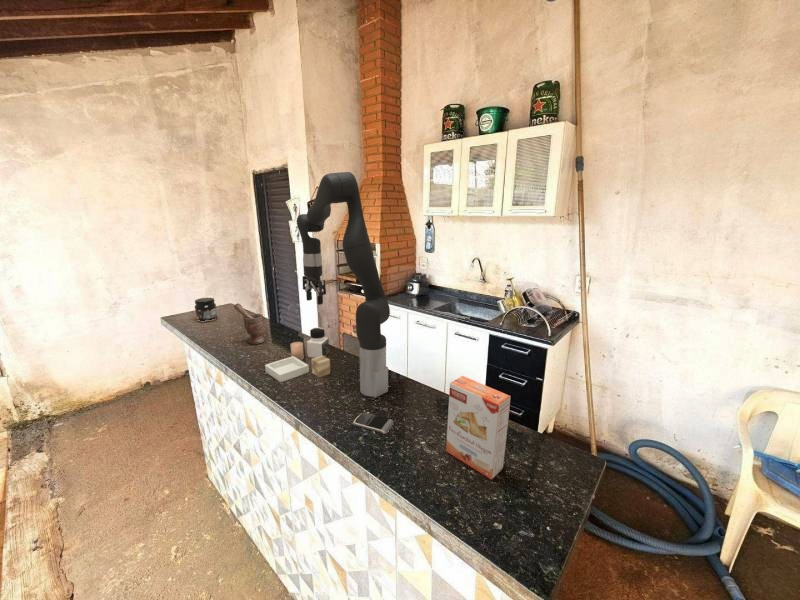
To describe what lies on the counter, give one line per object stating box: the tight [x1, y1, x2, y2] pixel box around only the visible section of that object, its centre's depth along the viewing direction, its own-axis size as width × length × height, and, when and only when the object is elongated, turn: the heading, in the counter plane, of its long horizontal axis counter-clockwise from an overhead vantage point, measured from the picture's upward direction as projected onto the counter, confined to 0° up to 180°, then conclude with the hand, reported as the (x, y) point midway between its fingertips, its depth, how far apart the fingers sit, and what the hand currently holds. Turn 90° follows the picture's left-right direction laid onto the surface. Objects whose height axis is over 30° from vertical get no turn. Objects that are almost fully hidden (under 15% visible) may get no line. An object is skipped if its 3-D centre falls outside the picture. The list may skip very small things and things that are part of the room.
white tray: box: [264, 356, 310, 383], centre depth 135 cm, size 12×12×3 cm
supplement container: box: [194, 297, 218, 321], centre depth 195 cm, size 10×10×12 cm
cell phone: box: [353, 412, 394, 434], centre depth 104 cm, size 6×11×1 cm, turn 67°
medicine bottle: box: [306, 327, 330, 359], centre depth 151 cm, size 7×7×12 cm
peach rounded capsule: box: [290, 341, 305, 362], centre depth 146 cm, size 5×5×7 cm
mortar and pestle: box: [233, 303, 266, 345], centre depth 161 cm, size 12×9×20 cm
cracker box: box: [445, 375, 511, 481], centre depth 86 cm, size 14×6×21 cm, turn 45°
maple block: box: [311, 356, 331, 379], centre depth 134 cm, size 5×5×6 cm
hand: (314, 302), depth 146 cm, fingers open, 8 cm apart
